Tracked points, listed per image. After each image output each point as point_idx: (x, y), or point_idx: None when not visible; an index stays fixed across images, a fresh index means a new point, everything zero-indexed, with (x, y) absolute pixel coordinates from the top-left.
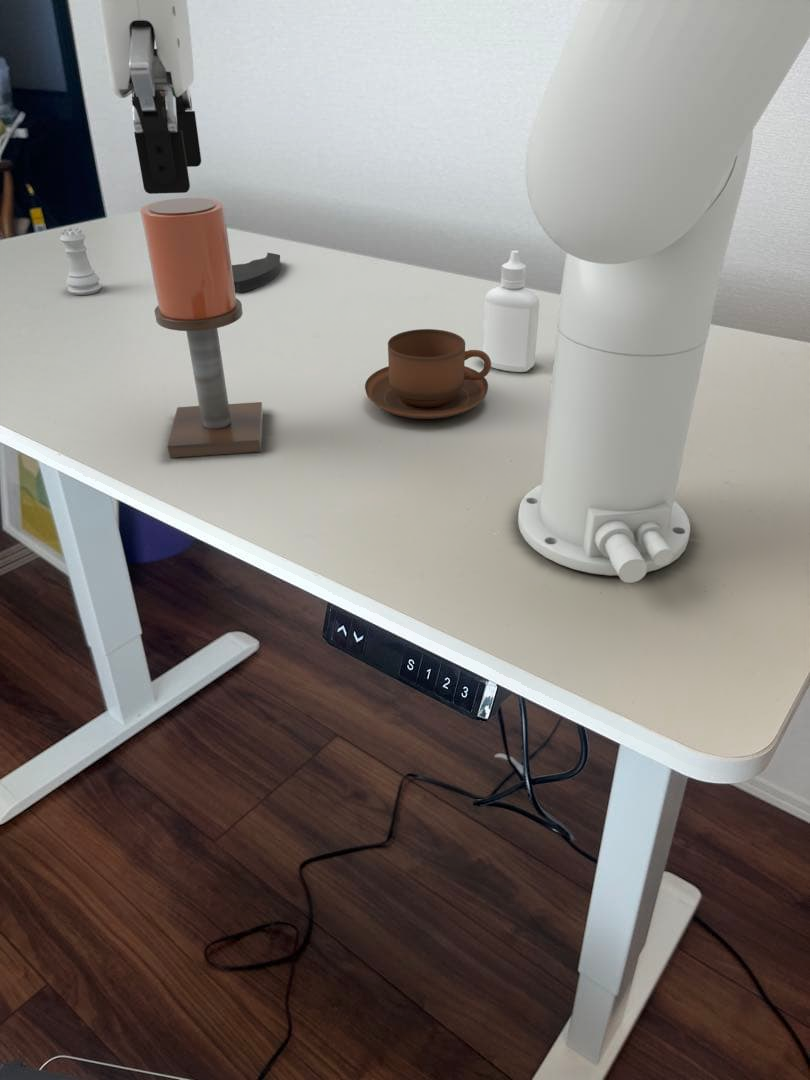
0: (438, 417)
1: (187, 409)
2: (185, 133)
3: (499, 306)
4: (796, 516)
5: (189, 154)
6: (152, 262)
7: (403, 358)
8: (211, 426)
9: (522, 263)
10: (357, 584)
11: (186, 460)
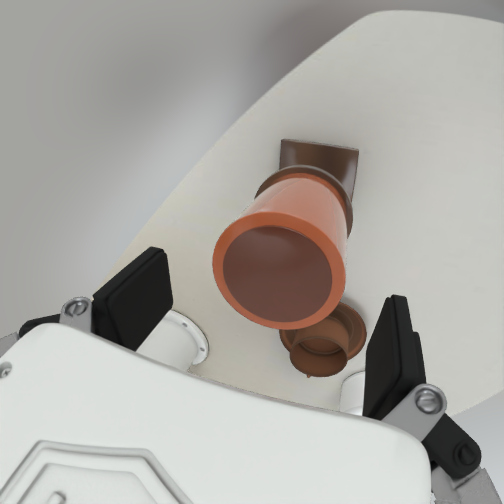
0: None
1: (351, 159)
2: (370, 381)
3: (352, 407)
4: None
5: (370, 352)
6: (267, 192)
7: (301, 339)
8: None
9: None
10: (140, 236)
11: (277, 151)
